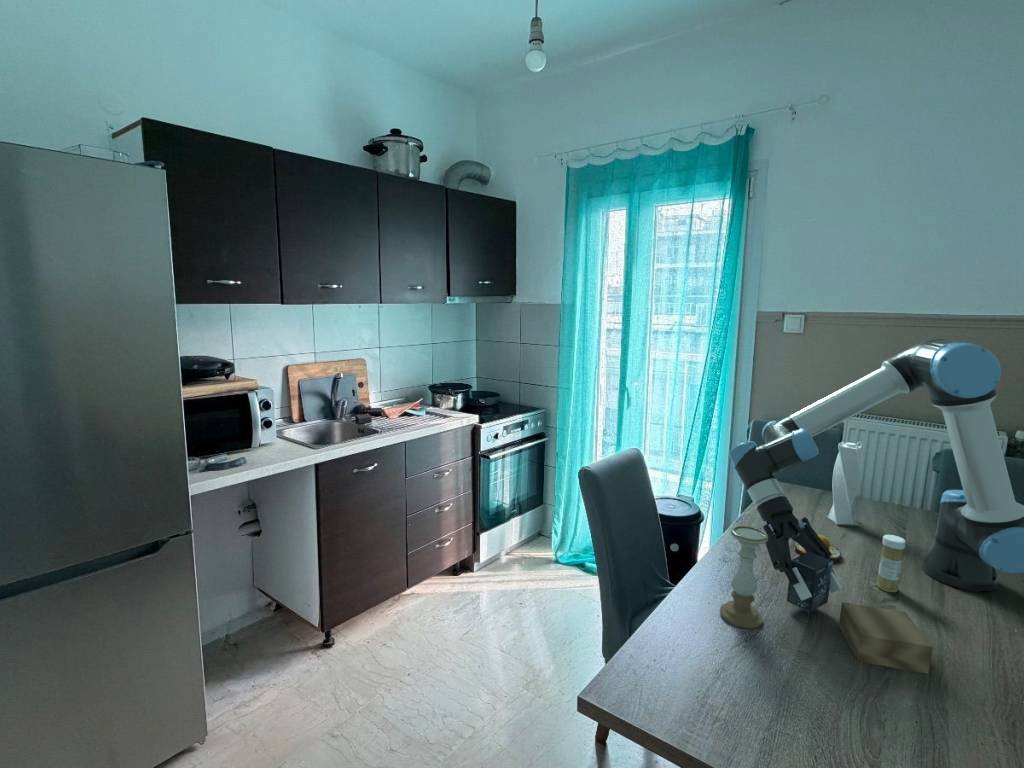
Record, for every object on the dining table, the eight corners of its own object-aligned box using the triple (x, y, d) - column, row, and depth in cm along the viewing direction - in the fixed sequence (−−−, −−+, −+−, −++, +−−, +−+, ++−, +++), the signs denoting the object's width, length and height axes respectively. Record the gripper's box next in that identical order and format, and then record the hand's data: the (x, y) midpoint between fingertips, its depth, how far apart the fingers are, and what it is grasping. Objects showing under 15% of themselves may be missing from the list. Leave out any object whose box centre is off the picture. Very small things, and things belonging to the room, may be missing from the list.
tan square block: (901, 637, 114) (905, 611, 113) (928, 675, 103) (932, 646, 102) (838, 627, 117) (842, 602, 116) (857, 662, 106) (861, 635, 105)
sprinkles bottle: (884, 582, 136) (891, 532, 134) (902, 591, 132) (910, 540, 130) (871, 585, 135) (878, 535, 133) (889, 594, 131) (897, 543, 128)
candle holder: (759, 610, 122) (769, 527, 119) (764, 632, 114) (774, 544, 111) (719, 602, 125) (726, 521, 122) (720, 623, 117) (728, 537, 114)
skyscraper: (861, 528, 169) (873, 442, 165) (836, 527, 169) (847, 441, 165) (845, 517, 178) (856, 435, 173) (821, 516, 178) (831, 434, 173)
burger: (828, 546, 157) (831, 522, 156) (849, 565, 145) (853, 540, 144) (786, 543, 158) (788, 519, 157) (803, 562, 146) (806, 537, 145)
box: (810, 613, 119) (815, 569, 117) (786, 601, 123) (790, 559, 122) (828, 603, 123) (833, 560, 121) (804, 591, 128) (808, 550, 126)
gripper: (792, 502, 138) (843, 590, 126) (727, 513, 131) (775, 608, 118) (812, 489, 133) (867, 580, 120) (746, 500, 125) (798, 599, 113)
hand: (821, 594), depth 119 cm, fingers closed on box, 9 cm apart
